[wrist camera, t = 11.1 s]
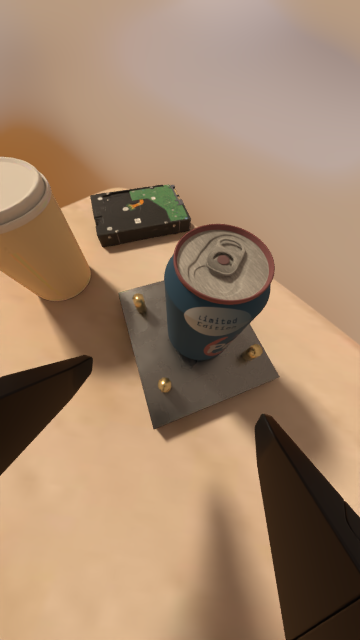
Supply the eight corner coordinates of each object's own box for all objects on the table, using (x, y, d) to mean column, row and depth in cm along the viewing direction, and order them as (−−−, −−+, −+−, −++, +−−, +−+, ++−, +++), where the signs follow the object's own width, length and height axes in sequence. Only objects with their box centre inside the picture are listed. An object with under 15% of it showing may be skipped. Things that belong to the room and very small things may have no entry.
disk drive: (104, 251, 29) (190, 232, 31) (97, 236, 26) (192, 217, 28) (95, 210, 33) (173, 196, 35) (88, 194, 30) (172, 180, 32)
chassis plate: (272, 378, 21) (293, 373, 17) (155, 427, 18) (150, 433, 14) (214, 273, 27) (221, 252, 23) (121, 298, 24) (112, 280, 21)
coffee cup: (46, 249, 27) (-36, 149, 17) (106, 258, 27) (61, 161, 16) (13, 301, 24) (-123, 213, 13) (82, 312, 23) (3, 232, 12)
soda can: (212, 374, 19) (266, 336, 8) (156, 344, 20) (138, 276, 9) (235, 322, 22) (298, 241, 11) (184, 298, 23) (195, 204, 12)
